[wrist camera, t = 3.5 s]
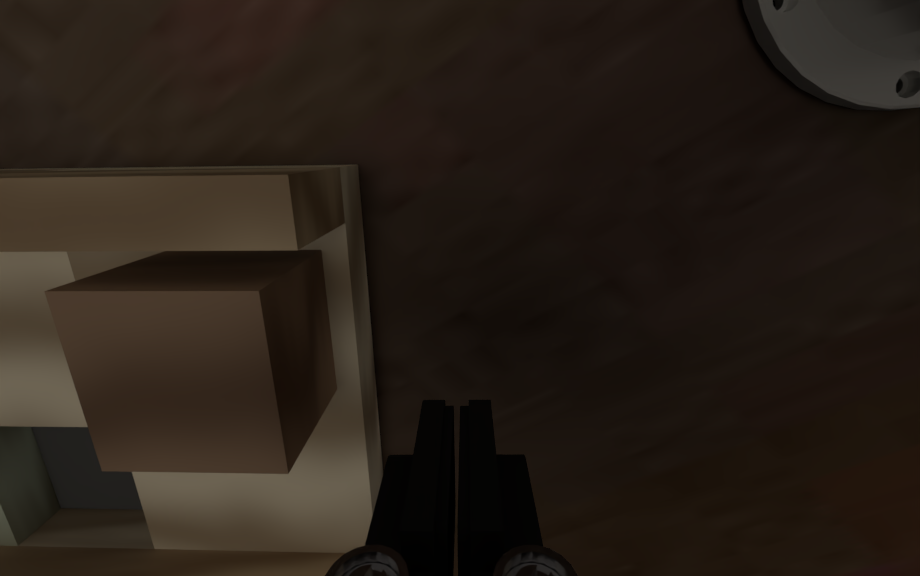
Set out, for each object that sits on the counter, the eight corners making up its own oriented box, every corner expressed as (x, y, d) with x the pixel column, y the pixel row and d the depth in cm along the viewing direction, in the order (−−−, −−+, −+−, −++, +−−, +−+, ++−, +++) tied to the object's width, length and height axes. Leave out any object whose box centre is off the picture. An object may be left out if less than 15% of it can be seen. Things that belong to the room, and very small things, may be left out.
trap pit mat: (25, 397, 22) (21, 399, 22) (156, 398, 22) (153, 400, 22) (64, 505, 24) (61, 508, 24) (184, 507, 24) (182, 510, 24)
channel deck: (-280, 172, 19) (-686, 186, 12) (357, 164, 18) (287, 174, 11) (-95, 531, 25) (-301, 670, 18) (388, 541, 24) (355, 691, 17)
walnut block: (167, 250, 17) (44, 291, 12) (321, 249, 17) (258, 290, 12) (197, 388, 19) (102, 471, 14) (337, 389, 18) (288, 473, 14)
